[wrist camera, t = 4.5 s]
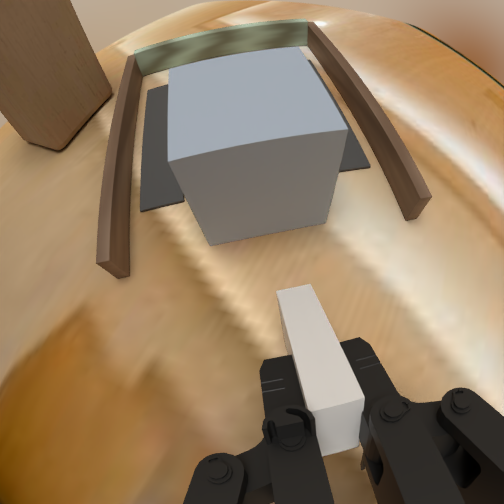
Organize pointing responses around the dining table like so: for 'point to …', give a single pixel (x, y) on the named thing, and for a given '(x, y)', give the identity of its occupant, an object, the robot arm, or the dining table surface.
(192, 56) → the u-shaped frame
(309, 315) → the robot arm
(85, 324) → the dining table surface
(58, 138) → the wooden block
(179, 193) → the pads
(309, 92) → the slate block
